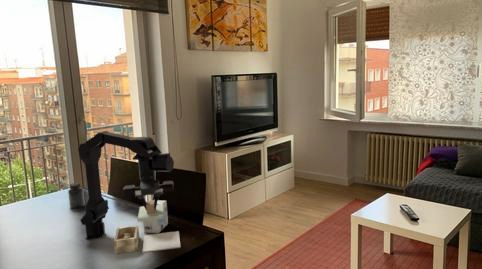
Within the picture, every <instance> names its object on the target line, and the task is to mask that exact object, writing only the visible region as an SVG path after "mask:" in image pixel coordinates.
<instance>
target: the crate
mask: <svg viewBox="0 0 482 269" xmlns="http://www.w3.org/2000/svg"><path fill="white" fill-rule="evenodd" d="M139 240H140V231H139V225H138V224H137V225H131V226H123V227H117V229H116V232H115V235H114V239H113V244H114V254H121V253H130V252H137V251H138V248H139Z"/></svg>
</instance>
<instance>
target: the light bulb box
mask: <svg viewBox="0 0 482 269" xmlns="http://www.w3.org/2000/svg"><path fill="white" fill-rule="evenodd" d="M153 200H154V201H155V199H153ZM159 204H163V206H164V209H163V219H159V220H157V221H149V222H144V221H142V222H143V231H144V234H145V233H146V234H160V232H161V231H163V230H164V229H165V227H167V226H168V224H169V218H168V204H167V200H159V199H158V201H157V205H159Z"/></svg>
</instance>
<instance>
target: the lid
mask: <svg viewBox="0 0 482 269" xmlns="http://www.w3.org/2000/svg"><path fill="white" fill-rule="evenodd" d="M154 200H155V199H151V200H146V209H147V211H146V209H145V207H144V205H143V206H139V210H138V215H137V222H143V221H144V222H149V221H157V220H159V219H163V209H164V206H163V204H159V205H157V206H156V210H155V208H154ZM144 222H143V223H144Z"/></svg>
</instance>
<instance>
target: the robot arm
mask: <svg viewBox="0 0 482 269" xmlns="http://www.w3.org/2000/svg"><path fill="white" fill-rule="evenodd" d="M106 144H107V145H111V146H117V147H121V148H125V149H128V150H129V151H131V152H132V153H134V154H135V155H134V156H133V157H132V160H133V161H135V160H136V161H137V163H138V172H139V173H138V174H139V186H135V184H131V185H130V184H129V185H125V186H124V187H123V189H122V197H123V198H126V197H127V198H128V197H133V195H134V194H135V195H134V196H135V197H134V198H138V199H139V200H140V201H141V203H142V205H143V206H144V207H145V209H146V203H147V199H146V196H149V195H150V196H154V200H155V201H154V208H155V210H156V206H157V201H158V200H159V198H160V196H162V195H163V194H164V192H165V193H170V192H174V191H175V188H174V187H175V185H174V181H173V180H165V181H162V184H160V180H159V179H158V180H157V179H156V172H163V173H164V172H167V173H171V172H172V171H173V169H174V167H175V166H174V164H175V162H174V160H173V157H172V156H171V153H170V152H165V153H162V151H161V150H160V149H159V147H158V146H157V144H156V143H155V141H154V139H153V138H152V137H150V136H138V137H137V136H134V137H133V136H129V135H124V134H120V133H114V132H109V131H108V130H104V131H100V132H97V133H96V134H95V135H94V136H92V137H91V138H90V139H88V140H86V141H85V142H82V143H80V145H79V146H78V149H77V151H78V154H79V158H80V160H81V161H82V163H84V166H85V168H84V169H85V177H86V183H87V184H86V185H87V196H88V200H87V201H86V205H85V213H84V215H83V216H82V218H80V223H81V225H84V226H85V234H86V236H85V240H89V239H99V238H102V237H104V235H105V232H106V226H105V222H103V219H106V217H107V216H106V215H107V214H108V210H109V209H110V208H109V201H108V200H107V199H105V198H104V197H103V195H102V187H101V185H102V184H101V178H100V168H99V163H100V162H99V161H100V158H101V156H102V148H104V147H105V146H106ZM163 191H164V192H163ZM146 211H147V209H146Z"/></svg>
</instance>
